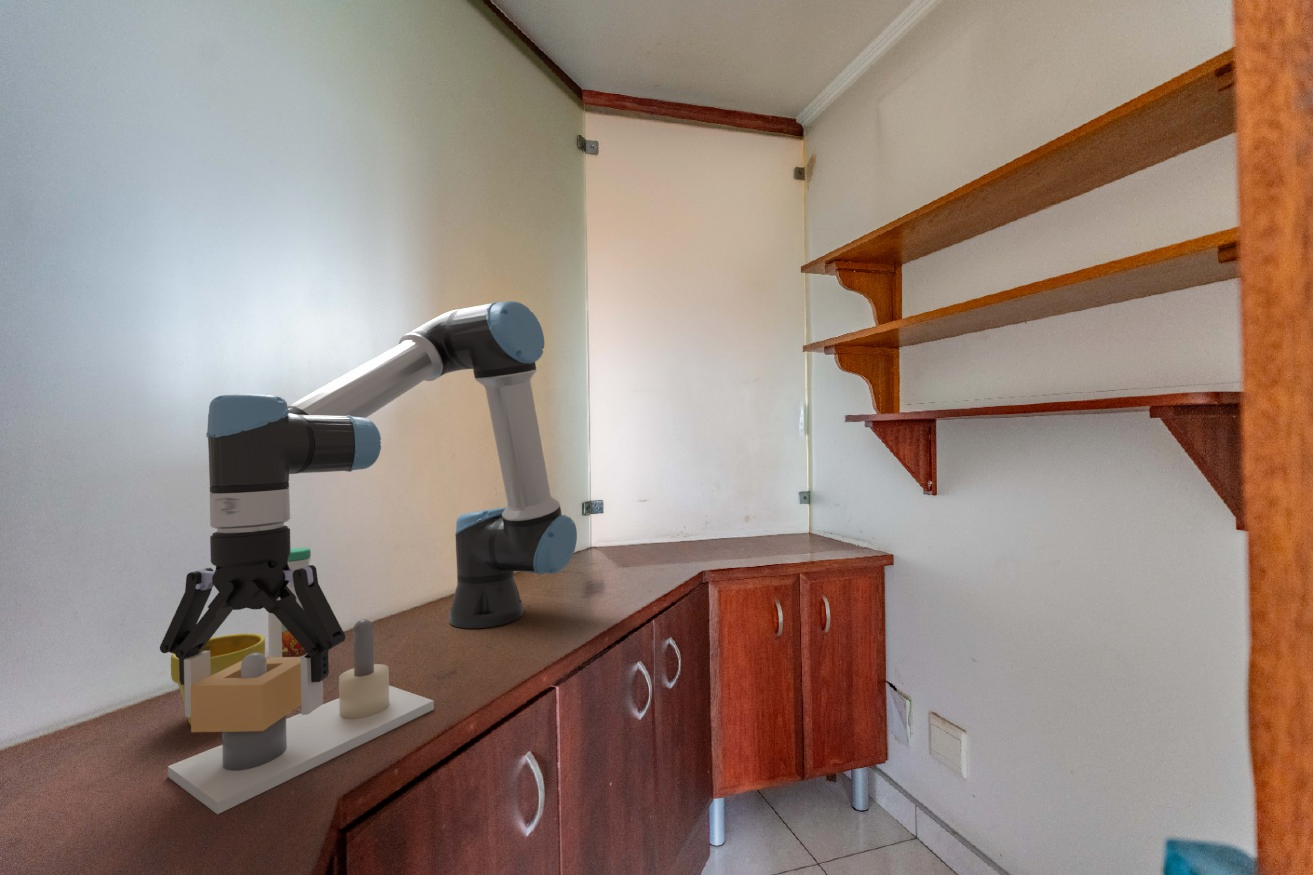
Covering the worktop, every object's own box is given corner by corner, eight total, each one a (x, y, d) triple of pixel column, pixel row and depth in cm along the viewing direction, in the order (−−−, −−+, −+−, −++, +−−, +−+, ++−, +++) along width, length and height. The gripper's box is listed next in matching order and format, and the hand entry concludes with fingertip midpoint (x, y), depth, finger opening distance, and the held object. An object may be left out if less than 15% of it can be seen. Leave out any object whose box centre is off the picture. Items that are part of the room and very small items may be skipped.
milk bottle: (261, 679, 89) (258, 555, 89) (279, 662, 96) (277, 547, 96) (315, 672, 91) (313, 551, 91) (329, 656, 98) (326, 543, 99)
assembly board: (379, 689, 83) (377, 602, 84) (433, 709, 77) (431, 613, 77) (168, 776, 62) (166, 659, 62) (217, 814, 55) (215, 682, 55)
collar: (247, 698, 68) (247, 657, 68) (311, 697, 68) (310, 656, 68) (191, 732, 60) (190, 685, 60) (262, 730, 60) (261, 684, 60)
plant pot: (280, 707, 79) (279, 638, 79) (191, 742, 70) (189, 664, 70) (245, 692, 84) (244, 628, 84) (158, 723, 75) (157, 651, 75)
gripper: (115, 535, 61) (118, 728, 61) (336, 529, 60) (341, 724, 60) (176, 525, 68) (179, 697, 68) (373, 519, 68) (378, 693, 67)
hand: (255, 710), depth 64 cm, fingers open, 13 cm apart
